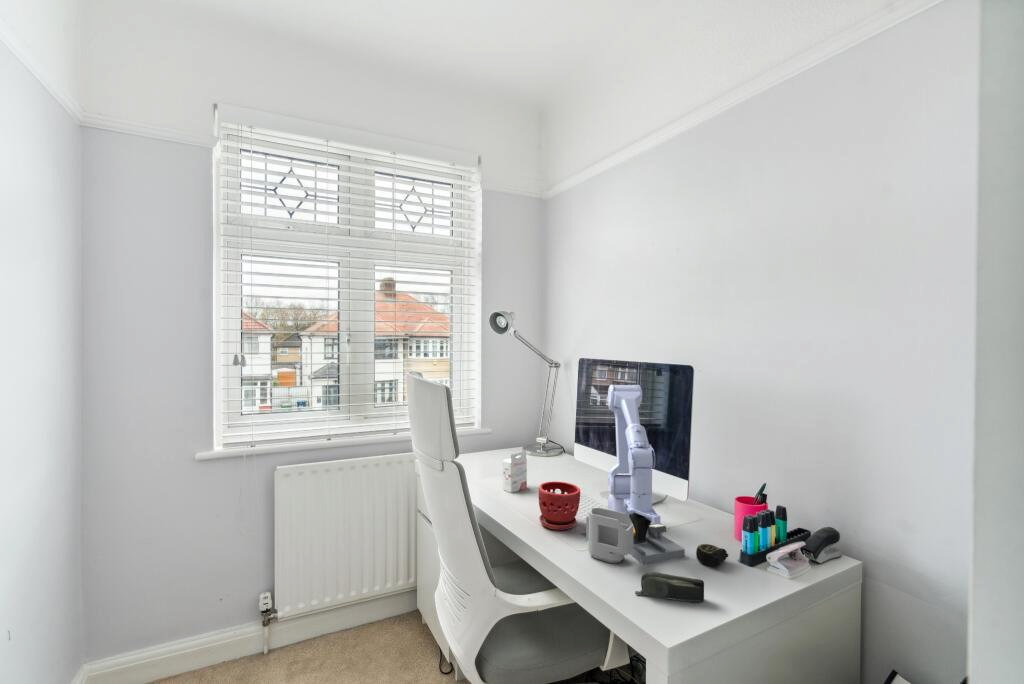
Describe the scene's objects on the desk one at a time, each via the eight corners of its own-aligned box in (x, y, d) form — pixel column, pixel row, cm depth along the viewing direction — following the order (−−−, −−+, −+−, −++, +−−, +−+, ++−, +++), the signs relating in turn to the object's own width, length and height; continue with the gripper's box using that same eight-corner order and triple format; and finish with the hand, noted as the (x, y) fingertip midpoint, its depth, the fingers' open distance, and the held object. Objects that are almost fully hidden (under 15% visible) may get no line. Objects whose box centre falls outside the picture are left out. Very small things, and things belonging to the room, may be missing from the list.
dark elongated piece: (703, 577, 106) (635, 568, 109) (706, 583, 103) (636, 574, 106) (702, 598, 106) (634, 589, 109) (705, 606, 103) (635, 596, 106)
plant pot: (548, 535, 139) (548, 495, 139) (532, 519, 151) (532, 482, 151) (587, 530, 143) (587, 491, 143) (569, 514, 156) (569, 478, 155)
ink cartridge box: (518, 485, 186) (518, 448, 186) (527, 488, 183) (527, 450, 183) (502, 490, 181) (502, 452, 180) (510, 493, 177) (511, 454, 177)
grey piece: (626, 569, 119) (626, 522, 119) (582, 556, 126) (582, 511, 126) (635, 558, 125) (635, 514, 124) (592, 547, 131) (592, 504, 131)
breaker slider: (625, 538, 132) (625, 527, 132) (637, 536, 134) (637, 525, 133) (633, 544, 128) (633, 532, 128) (645, 542, 130) (645, 531, 130)
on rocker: (640, 530, 138) (639, 523, 138) (650, 528, 139) (649, 522, 139) (656, 533, 130) (655, 526, 131) (666, 531, 132) (665, 525, 132)
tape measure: (718, 572, 118) (718, 557, 118) (691, 562, 123) (691, 548, 123) (728, 562, 123) (728, 548, 123) (702, 554, 128) (702, 540, 128)
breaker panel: (608, 537, 138) (608, 520, 138) (647, 531, 142) (647, 514, 142) (642, 564, 122) (642, 544, 122) (684, 556, 126) (684, 537, 126)
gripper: (614, 485, 134) (614, 532, 134) (644, 501, 120) (644, 554, 120) (635, 482, 136) (635, 529, 136) (667, 498, 123) (667, 550, 123)
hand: (641, 540), depth 128 cm, fingers closed
